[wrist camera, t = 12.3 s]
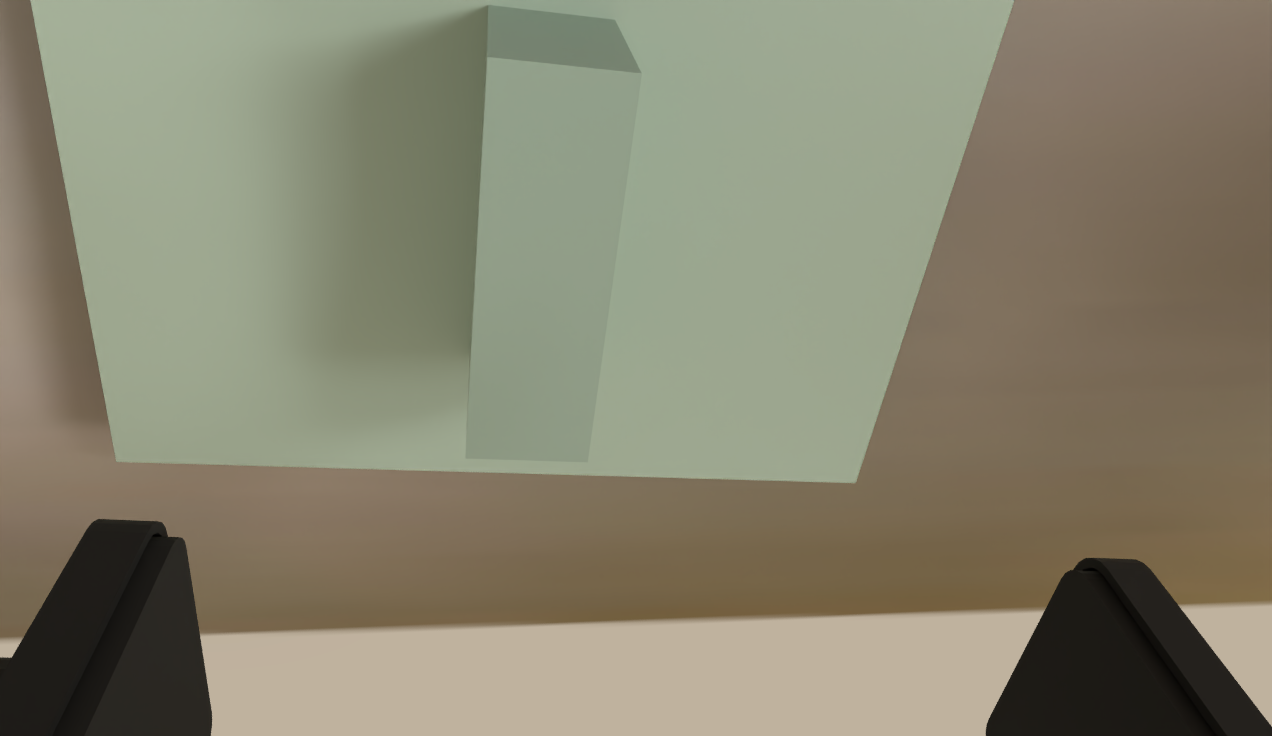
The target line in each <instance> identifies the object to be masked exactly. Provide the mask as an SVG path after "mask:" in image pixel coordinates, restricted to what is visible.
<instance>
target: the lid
mask: <svg viewBox="0 0 1272 736" xmlns="http://www.w3.org/2000/svg"><path fill="white" fill-rule="evenodd" d="M30 1H31V6H32V12H33V17H34V23H35V28H36V33H37V39H38V44H39V49H40V55H41V60H42V66H43V71H44V76H45V82H46V87H47V92H48V98H49V103H50V109H51V114H52V119H53V125H54V130H55V135H56V141H57V146H58V152H59V157H60V162H61V168H62V173H63V178H64V184H65V189H66V195H67V200H68V205H69V211H70V216H71V221H72V227H73V232H74V238H75V243H76V248H77V254H78V259H79V264H80V270H81V275H82V281H83V286H84V291H85V297H86V302H87V308H88V313H89V318H90V324H91V329H92V334H93V340H94V345H95V351H96V356H97V361H98V367H99V372H100V377H101V383H102V388H103V394H104V399H105V404H106V410H107V415H108V420H109V426H110V431H111V437H112V442H113V447H114V453H115V458H116V462H136V463H171V464H206V465H241V466H276V467H311V468H346V469H381V470H416V471H451V472H486V473H521V474H556V475H591V476H626V477H661V478H696V479H731V480H766V481H801V482H836V483H856V480H857V477H858V474H859V471H860V468H861V465H862V462H863V459H864V456H865V453H866V450H867V447H868V444H869V441H870V438H871V435H872V432H873V429H874V426H875V423H876V419H877V416H878V413H879V410H880V407H881V404H882V401H883V398H884V395H885V392H886V389H887V386H888V383H889V380H890V377H891V374H892V371H893V368H894V365H895V362H896V359H897V356H898V353H899V350H900V347H901V344H902V340H903V337H904V334H905V331H906V328H907V325H908V322H909V319H910V316H911V313H912V310H913V307H914V304H915V301H916V298H917V295H918V292H919V289H920V286H921V283H922V280H923V277H924V274H925V271H926V268H927V265H928V261H929V258H930V255H931V252H932V249H933V246H934V243H935V240H936V237H937V234H938V231H939V228H940V225H941V222H942V219H943V216H944V213H945V210H946V207H947V204H948V201H949V198H950V195H951V192H952V189H953V186H954V182H955V179H956V176H957V173H958V170H959V167H960V164H961V161H962V158H963V155H964V152H965V149H966V146H967V143H968V140H969V137H970V134H971V131H972V128H973V125H974V122H975V119H976V116H977V113H978V110H979V107H980V104H981V100H982V97H983V94H984V91H985V88H986V85H987V82H988V79H989V76H990V73H991V70H992V67H993V64H994V61H995V58H996V55H997V52H998V49H999V46H1000V43H1001V40H1002V37H1003V34H1004V31H1005V28H1006V25H1007V21H1008V18H1009V15H1010V12H1011V9H1012V6H1013V3H1014V0H30Z"/></svg>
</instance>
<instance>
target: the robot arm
mask: <svg viewBox="0 0 1272 736" xmlns="http://www.w3.org/2000/svg"><path fill="white" fill-rule="evenodd" d="M211 728H212V711H211V704H210V698H209V692H208V685H207V679H206V673H205V666H204V659H203V653H202V646H201V640H200V633H199V627H198V620H197V614H196V607H195V601H194V594H193V588H192V581H191V575H190V568H189V562H188V556H187V549H186V545H185V541H184V540H183V538H179V537H168V535H167V532H166V528H165V526H164V525H163V523H162V522H157V521H132V520H106V519H98V520H96V521H94V522H93V523H92V524H91V525H90V526H89V528H88V529H87V530H86V532H85V533H84V535H83V537H82V539H81V540H80V542H79V544H78V545H77V547H76V549H75V551H74V552H73V554H72V556H71V557H70V559H69V561H68V563H67V564H66V566H65V568H64V569H63V571H62V573H61V574H60V576H59V578H58V580H57V581H56V583H55V585H54V586H53V588H52V590H51V592H50V593H49V595H48V597H47V598H46V600H45V602H44V604H43V605H42V607H41V609H40V610H39V612H38V614H37V616H36V617H35V619H34V621H33V622H32V624H31V626H30V627H29V629H28V631H27V633H26V634H25V636H24V638H23V639H22V641H21V643H20V645H19V647H18V648H17V650H16V652H15V653H14V655H13V657H12V658H0V736H211ZM986 736H1272V727H1271V725H1270V724H1269V723H1268V721H1267V720H1266V719H1265V718H1264V716H1263V715H1262V714H1261V713H1260V711H1259V710H1258V708H1257V707H1256V706H1255V705H1254V704H1253V702H1252V701H1251V699H1250V698H1249V697H1248V695H1247V694H1246V693H1245V692H1244V690H1243V689H1242V688H1241V686H1240V685H1239V684H1238V682H1237V681H1236V680H1235V679H1234V677H1233V676H1232V675H1231V673H1230V672H1229V671H1228V669H1227V668H1226V667H1225V666H1224V664H1223V663H1222V662H1221V660H1220V659H1219V658H1218V656H1217V655H1216V654H1215V653H1214V651H1213V650H1212V649H1211V647H1210V646H1209V645H1208V644H1207V642H1206V641H1205V640H1204V638H1203V637H1202V636H1201V634H1200V633H1199V632H1198V630H1197V629H1196V628H1195V627H1194V625H1193V624H1192V623H1191V621H1190V620H1189V619H1188V617H1187V616H1186V615H1185V614H1184V612H1183V611H1182V610H1181V608H1180V607H1179V606H1178V604H1177V603H1176V602H1175V601H1174V599H1173V598H1172V597H1171V595H1170V594H1169V593H1168V591H1167V590H1166V589H1165V588H1164V586H1163V585H1162V584H1161V582H1160V581H1159V580H1158V579H1157V577H1156V576H1155V575H1154V573H1153V572H1152V571H1151V570H1150V569H1149V568H1148V567H1147V566H1146V565H1145V564H1144V563H1142V562H1140V561H1138V560H1133V559H1107V558H1085V559H1083V560H1082V561H1080V562H1079V563H1078V564H1077V565H1076V567H1075V568H1074V570H1070V571H1068V572H1067V573H1065V574H1064V576H1063V577H1062V578H1061V580H1060V582H1059V584H1058V586H1057V588H1056V590H1055V592H1054V594H1053V596H1052V598H1051V600H1050V602H1049V604H1048V606H1047V607H1046V609H1045V611H1044V613H1043V615H1042V617H1041V619H1040V621H1039V623H1038V625H1037V627H1036V629H1035V631H1034V633H1033V635H1032V637H1031V639H1030V640H1029V642H1028V644H1027V646H1026V648H1025V650H1024V652H1023V654H1022V656H1021V658H1020V660H1019V662H1018V664H1017V666H1016V668H1015V670H1014V671H1013V673H1012V675H1011V677H1010V679H1009V681H1008V683H1007V685H1006V687H1005V689H1004V691H1003V693H1002V695H1001V697H1000V699H999V701H998V702H997V704H996V706H995V708H994V710H993V712H992V714H991V716H990V718H989V720H988V723H987V727H986Z"/></svg>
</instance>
